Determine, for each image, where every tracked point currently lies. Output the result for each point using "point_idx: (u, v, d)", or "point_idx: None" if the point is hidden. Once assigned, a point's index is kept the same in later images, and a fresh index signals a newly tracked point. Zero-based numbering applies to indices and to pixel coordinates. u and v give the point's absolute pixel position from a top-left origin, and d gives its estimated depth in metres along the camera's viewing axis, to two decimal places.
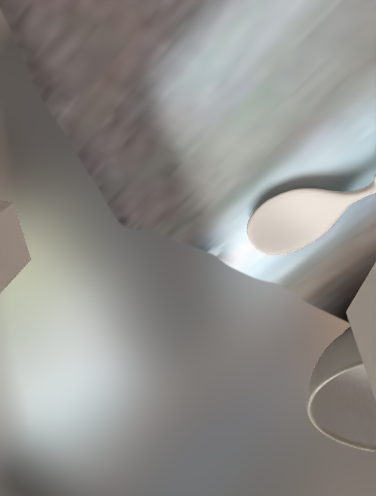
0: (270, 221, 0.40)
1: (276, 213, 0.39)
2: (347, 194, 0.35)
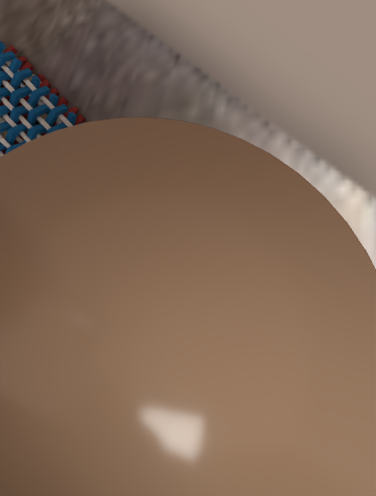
0: None
1: None
2: None
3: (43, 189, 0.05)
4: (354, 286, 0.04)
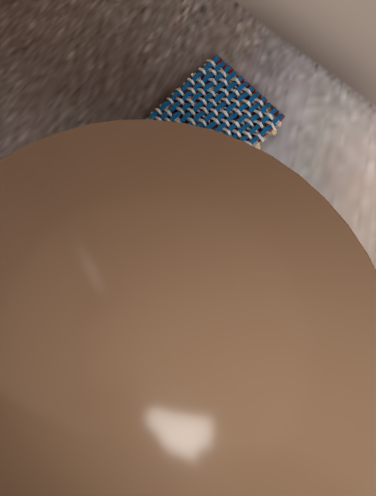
0: None
1: None
2: None
3: (44, 191, 0.05)
4: (355, 288, 0.04)
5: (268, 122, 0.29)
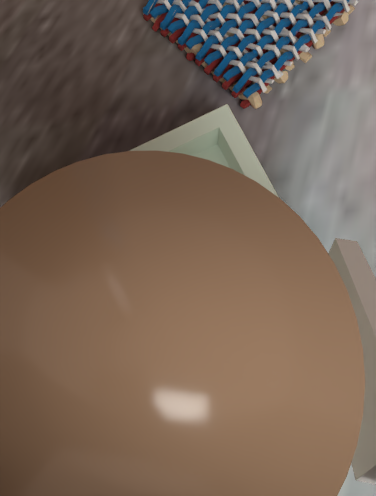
0: None
1: None
2: None
3: (69, 210, 0.05)
4: (323, 291, 0.05)
5: None
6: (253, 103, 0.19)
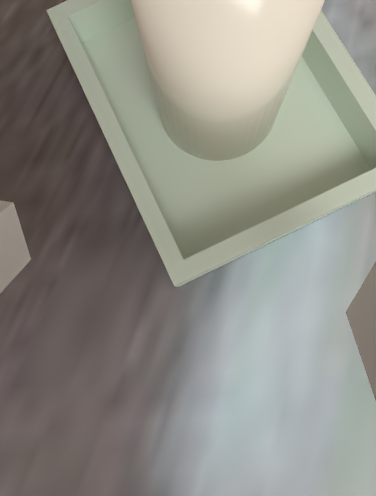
0: None
1: None
2: None
3: None
4: None
5: None
6: None
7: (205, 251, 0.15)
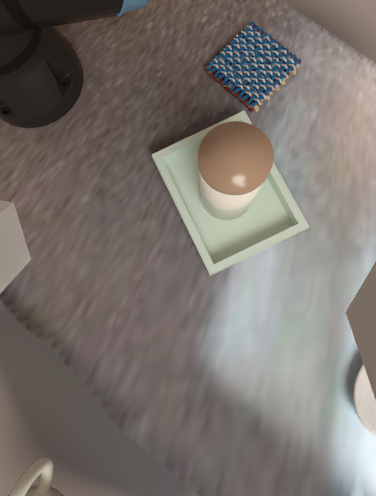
0: None
1: None
2: None
3: (221, 132, 0.30)
4: (267, 144, 0.30)
5: (290, 64, 0.43)
6: (255, 109, 0.43)
7: (222, 261, 0.38)
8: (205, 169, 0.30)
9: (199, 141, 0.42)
